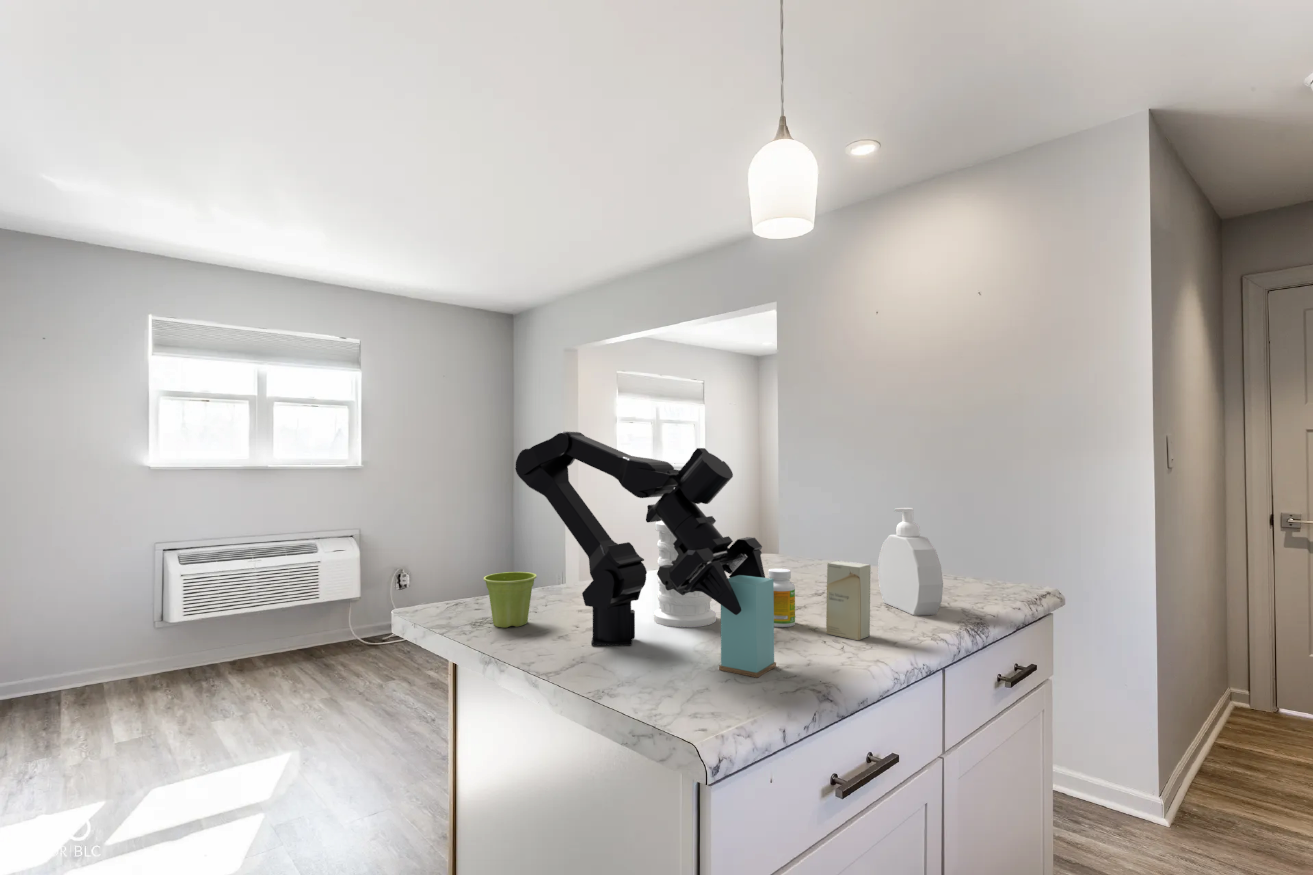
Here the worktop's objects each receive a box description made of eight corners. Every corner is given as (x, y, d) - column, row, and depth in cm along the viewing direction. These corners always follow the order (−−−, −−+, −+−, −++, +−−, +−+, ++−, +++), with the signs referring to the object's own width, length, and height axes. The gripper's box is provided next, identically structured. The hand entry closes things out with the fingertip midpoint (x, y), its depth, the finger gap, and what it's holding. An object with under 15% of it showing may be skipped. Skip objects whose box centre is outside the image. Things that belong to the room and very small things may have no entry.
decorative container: (707, 629, 117) (707, 526, 118) (645, 624, 121) (645, 524, 121) (721, 614, 128) (721, 520, 129) (664, 610, 132) (664, 519, 132)
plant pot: (515, 633, 115) (515, 582, 115) (472, 627, 119) (472, 578, 119) (546, 620, 124) (546, 573, 124) (505, 615, 128) (506, 570, 128)
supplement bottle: (795, 628, 118) (794, 573, 118) (764, 626, 119) (764, 572, 119) (795, 621, 123) (794, 568, 123) (765, 619, 124) (765, 567, 124)
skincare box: (825, 634, 114) (824, 562, 114) (838, 629, 117) (837, 559, 117) (860, 641, 109) (859, 566, 110) (872, 635, 113) (871, 563, 113)
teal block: (721, 665, 95) (720, 580, 95) (739, 655, 99) (738, 574, 100) (756, 672, 92) (756, 584, 92) (774, 662, 96) (773, 578, 96)
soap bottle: (876, 600, 140) (874, 505, 141) (899, 599, 141) (898, 505, 141) (918, 618, 124) (916, 511, 125) (944, 617, 125) (942, 511, 126)
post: (719, 669, 95) (719, 637, 95) (739, 659, 100) (739, 628, 100) (757, 677, 91) (757, 644, 91) (776, 666, 96) (775, 634, 96)
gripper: (690, 552, 113) (749, 627, 106) (621, 567, 97) (685, 656, 91) (730, 507, 108) (795, 583, 102) (666, 515, 93) (736, 605, 86)
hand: (754, 606), depth 95 cm, fingers open, 9 cm apart
